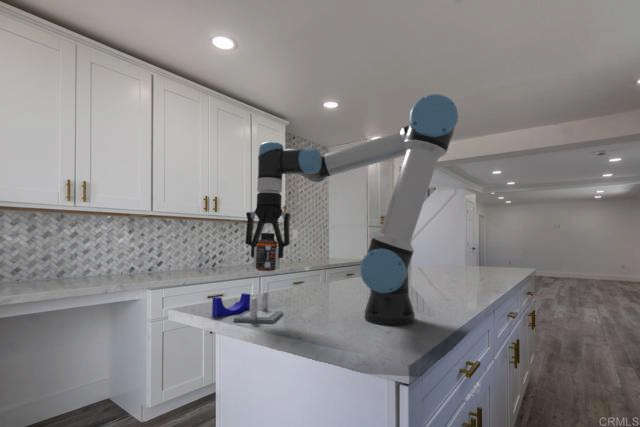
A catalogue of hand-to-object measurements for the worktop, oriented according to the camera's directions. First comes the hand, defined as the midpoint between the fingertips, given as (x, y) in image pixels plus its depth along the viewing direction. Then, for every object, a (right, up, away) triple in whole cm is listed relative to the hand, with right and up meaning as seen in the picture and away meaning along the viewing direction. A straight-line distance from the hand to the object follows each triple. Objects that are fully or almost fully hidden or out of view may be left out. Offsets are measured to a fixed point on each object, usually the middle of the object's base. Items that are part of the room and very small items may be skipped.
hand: (266, 268), depth 105 cm
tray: (-3, -16, +2) cm, 16 cm away
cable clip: (-13, -16, +8) cm, 22 cm away
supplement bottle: (0, -1, 0) cm, 1 cm away
